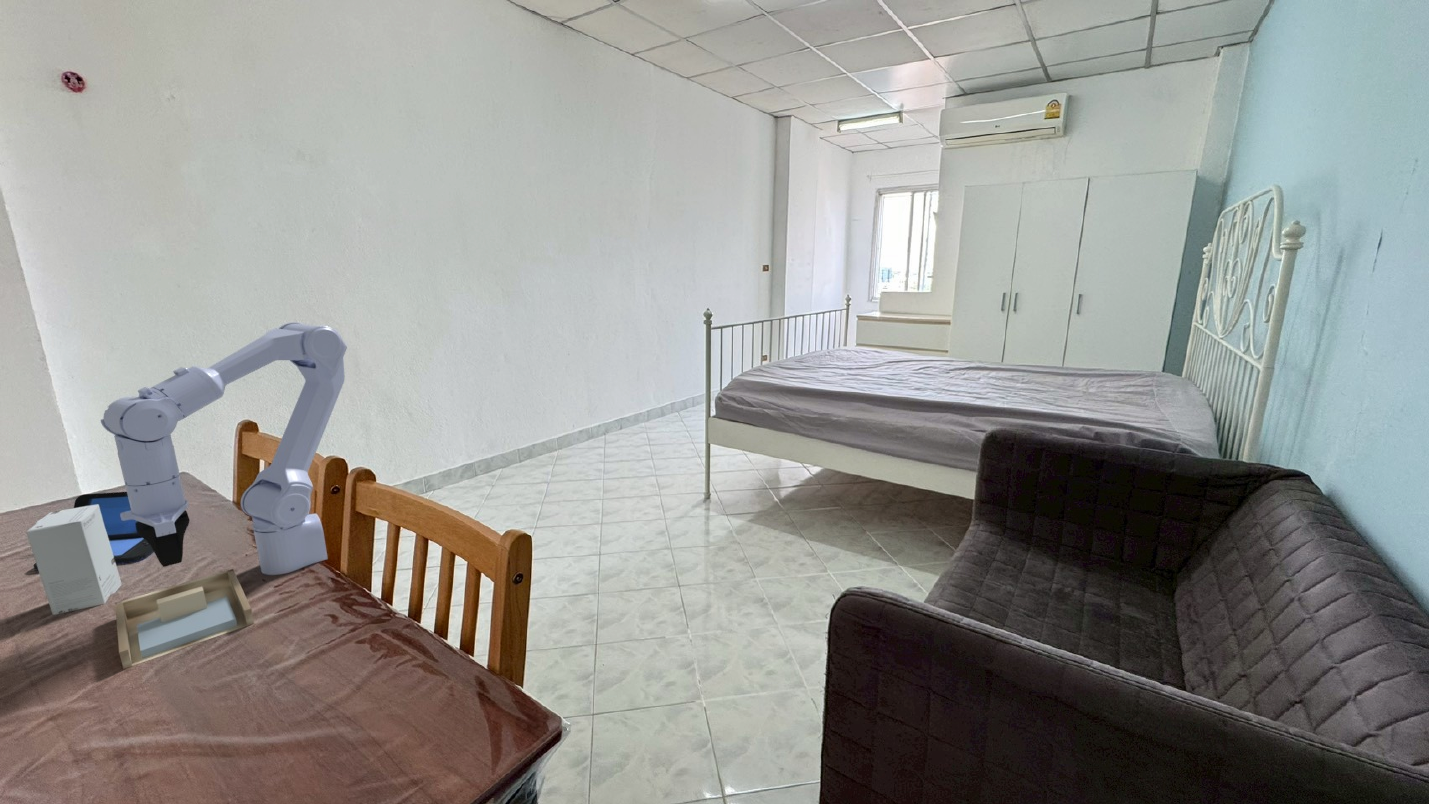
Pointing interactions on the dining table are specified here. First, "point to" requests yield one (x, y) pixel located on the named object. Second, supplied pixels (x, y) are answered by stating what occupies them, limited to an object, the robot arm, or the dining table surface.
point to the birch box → (147, 610)
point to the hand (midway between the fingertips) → (172, 563)
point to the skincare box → (74, 558)
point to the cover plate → (184, 621)
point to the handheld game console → (117, 526)
